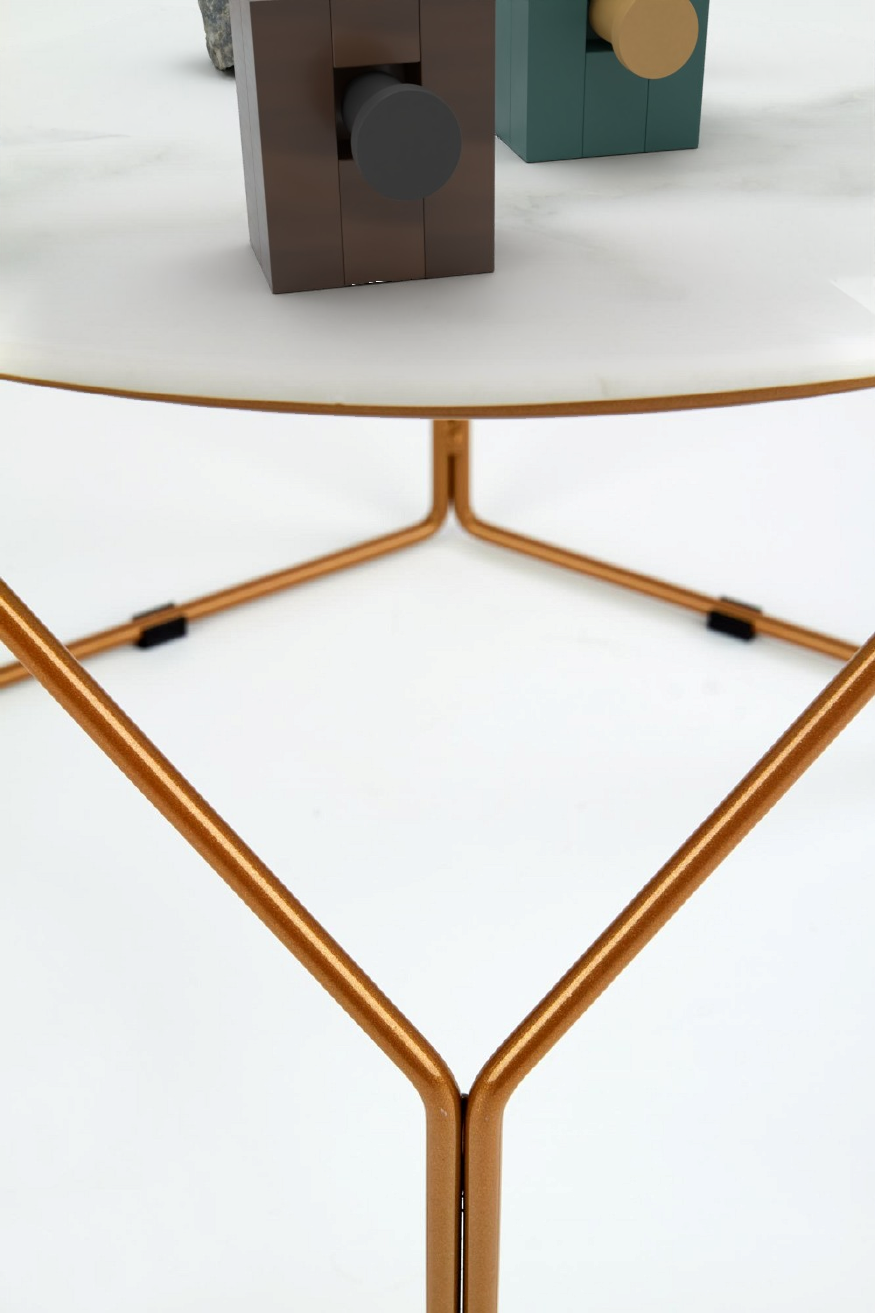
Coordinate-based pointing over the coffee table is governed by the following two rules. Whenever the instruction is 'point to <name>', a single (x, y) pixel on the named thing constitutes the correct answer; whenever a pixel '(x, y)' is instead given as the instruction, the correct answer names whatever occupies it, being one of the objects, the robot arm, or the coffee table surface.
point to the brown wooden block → (319, 145)
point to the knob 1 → (400, 135)
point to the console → (586, 87)
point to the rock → (218, 31)
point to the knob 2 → (647, 33)
